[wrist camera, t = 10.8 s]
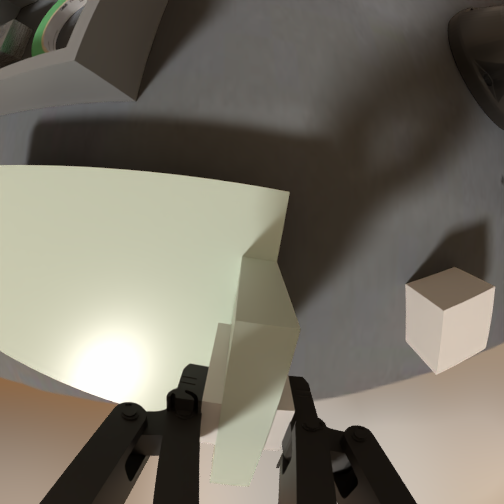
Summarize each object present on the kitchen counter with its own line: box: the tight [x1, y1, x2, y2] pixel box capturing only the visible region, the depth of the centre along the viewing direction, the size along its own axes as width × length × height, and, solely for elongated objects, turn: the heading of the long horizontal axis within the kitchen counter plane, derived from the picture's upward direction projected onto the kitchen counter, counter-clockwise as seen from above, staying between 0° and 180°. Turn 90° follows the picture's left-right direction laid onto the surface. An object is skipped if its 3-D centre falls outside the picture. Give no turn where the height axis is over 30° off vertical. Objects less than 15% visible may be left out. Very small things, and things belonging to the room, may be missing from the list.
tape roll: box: [31, 0, 87, 57], centre depth 15 cm, size 11×11×3 cm
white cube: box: [405, 267, 495, 375], centre depth 19 cm, size 6×6×6 cm
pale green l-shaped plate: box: [0, 165, 300, 487], centre depth 14 cm, size 25×18×11 cm
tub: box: [0, 0, 168, 116], centre depth 11 cm, size 24×17×9 cm
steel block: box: [0, 19, 33, 67], centre depth 14 cm, size 4×4×4 cm
